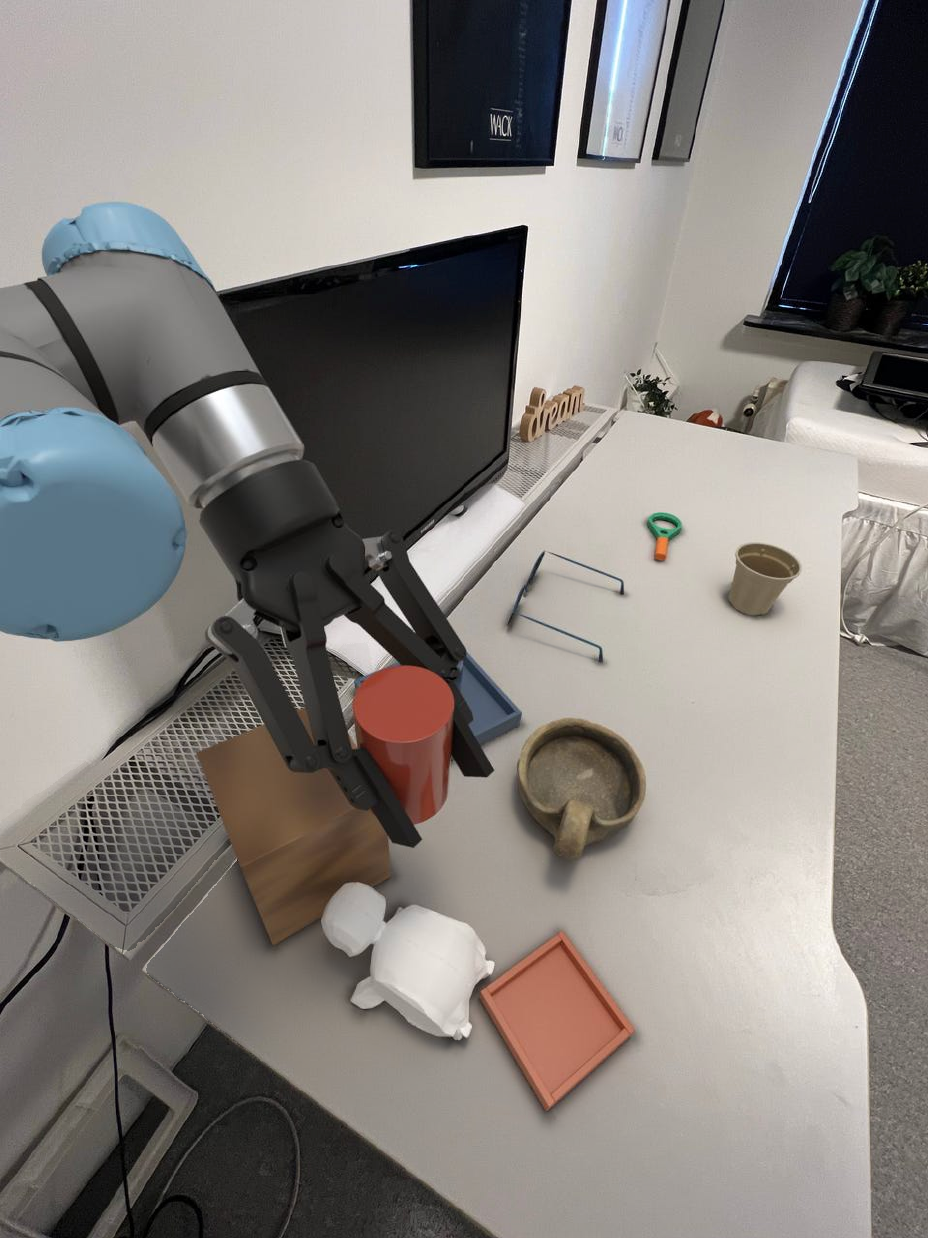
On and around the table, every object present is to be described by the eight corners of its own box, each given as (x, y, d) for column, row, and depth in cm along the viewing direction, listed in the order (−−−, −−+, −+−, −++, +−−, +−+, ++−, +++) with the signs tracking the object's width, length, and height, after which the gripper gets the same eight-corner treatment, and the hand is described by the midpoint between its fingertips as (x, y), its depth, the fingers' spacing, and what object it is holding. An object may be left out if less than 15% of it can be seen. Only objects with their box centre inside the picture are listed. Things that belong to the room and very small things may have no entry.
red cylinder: (388, 842, 38) (382, 760, 32) (347, 774, 42) (335, 688, 36) (465, 798, 41) (473, 714, 35) (421, 738, 44) (421, 652, 38)
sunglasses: (535, 569, 99) (543, 545, 95) (619, 602, 96) (631, 579, 93) (502, 633, 86) (510, 608, 83) (597, 672, 84) (609, 649, 81)
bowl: (641, 767, 70) (664, 713, 64) (621, 911, 58) (647, 862, 51) (528, 733, 73) (539, 678, 66) (486, 863, 60) (494, 811, 54)
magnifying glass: (648, 514, 114) (651, 507, 113) (681, 521, 113) (683, 513, 112) (641, 557, 103) (643, 549, 102) (676, 565, 102) (679, 557, 101)
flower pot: (722, 618, 92) (743, 574, 86) (712, 582, 99) (730, 538, 93) (785, 627, 91) (810, 582, 85) (770, 589, 98) (792, 546, 92)
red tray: (546, 1112, 46) (549, 1107, 45) (478, 997, 51) (480, 991, 50) (630, 1035, 50) (635, 1030, 49) (559, 937, 55) (562, 930, 54)
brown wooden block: (273, 946, 54) (240, 868, 44) (231, 840, 61) (195, 752, 51) (391, 876, 59) (385, 792, 49) (340, 786, 66) (326, 697, 56)
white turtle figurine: (474, 960, 56) (343, 871, 56) (514, 943, 50) (367, 843, 50) (434, 1060, 50) (288, 960, 50) (474, 1054, 44) (308, 941, 44)
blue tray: (413, 780, 67) (413, 767, 66) (355, 693, 76) (353, 680, 75) (520, 725, 74) (522, 712, 72) (454, 651, 83) (454, 638, 82)
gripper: (352, 461, 44) (502, 724, 47) (84, 568, 33) (303, 904, 36) (400, 413, 38) (569, 719, 41) (91, 525, 27) (354, 933, 30)
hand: (444, 805), depth 38 cm, fingers closed on red cylinder, 6 cm apart
